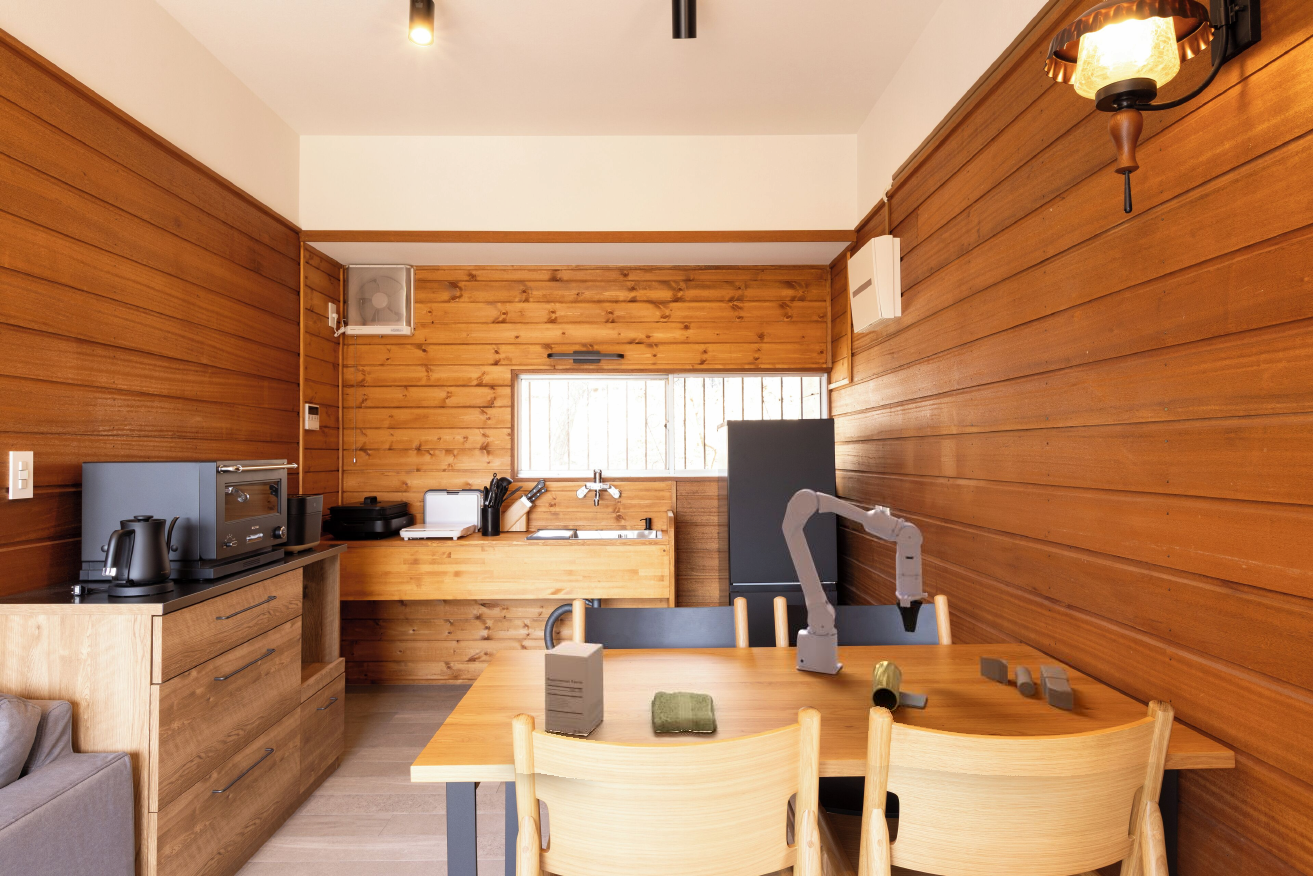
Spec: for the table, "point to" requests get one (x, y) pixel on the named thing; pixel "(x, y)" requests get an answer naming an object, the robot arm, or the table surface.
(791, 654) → the table surface
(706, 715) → the washcloth
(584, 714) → the supplement box
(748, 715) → the table surface
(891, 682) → the vase
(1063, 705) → the wooden block set
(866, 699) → the table surface
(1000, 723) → the table surface
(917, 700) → the mat
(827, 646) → the robot arm
